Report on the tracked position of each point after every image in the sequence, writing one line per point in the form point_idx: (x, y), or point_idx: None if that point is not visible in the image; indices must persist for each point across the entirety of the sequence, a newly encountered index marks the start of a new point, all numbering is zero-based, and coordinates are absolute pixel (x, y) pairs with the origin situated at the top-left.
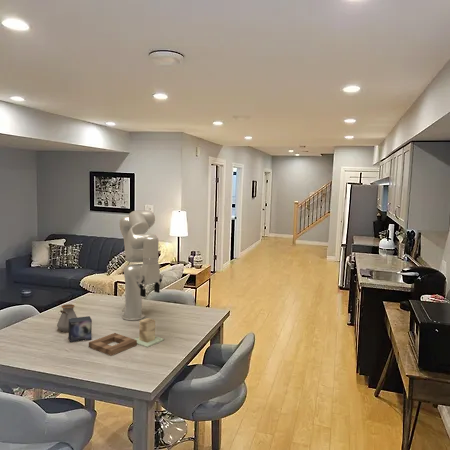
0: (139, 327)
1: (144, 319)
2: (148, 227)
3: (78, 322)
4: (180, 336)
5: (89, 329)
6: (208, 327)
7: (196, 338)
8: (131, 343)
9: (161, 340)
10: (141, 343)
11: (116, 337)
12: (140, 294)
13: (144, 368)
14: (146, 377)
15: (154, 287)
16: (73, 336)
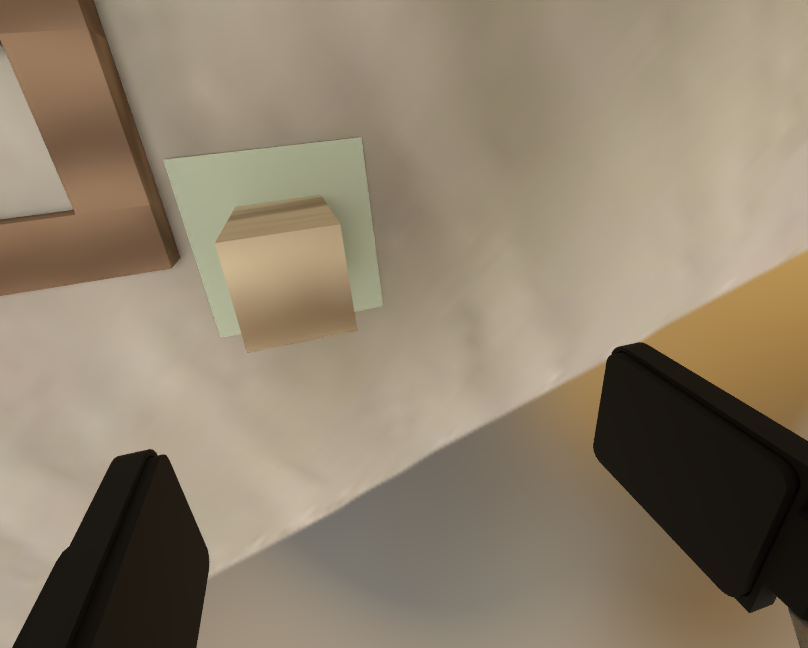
0: (224, 228)
1: (285, 246)
2: None
3: None
4: (489, 317)
5: None
6: (676, 308)
7: (518, 388)
8: (111, 275)
9: (358, 310)
10: (213, 274)
11: (17, 76)
12: (108, 482)
13: (57, 541)
14: (21, 611)
15: (697, 420)
16: None
